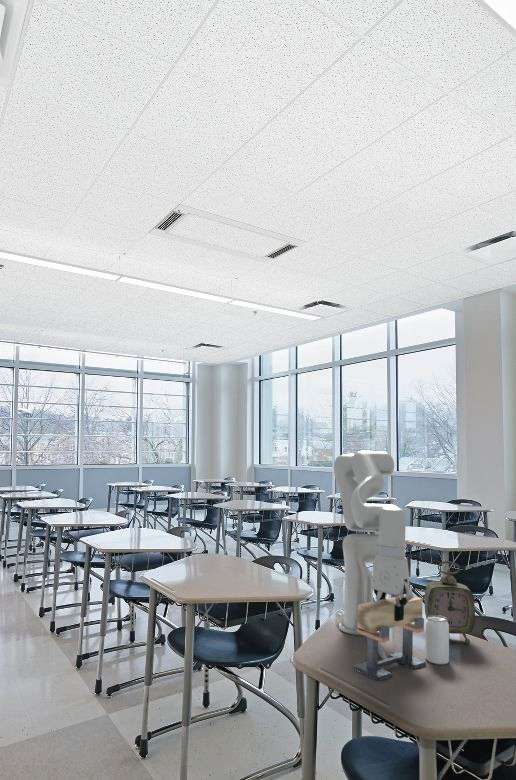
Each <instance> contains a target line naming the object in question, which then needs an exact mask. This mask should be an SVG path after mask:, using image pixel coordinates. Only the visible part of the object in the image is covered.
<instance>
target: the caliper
mask: <svg viewBox="0 0 516 780" xmlns="http://www.w3.org/2000/svg"><path fill="white" fill-rule="evenodd" d="M378 655H379V656H380V658H381V660H385V659H388V658H389V657H388V656H387V655H386V653H385V651H384V649H383V647H382V644H381V642H379V641H378Z"/></svg>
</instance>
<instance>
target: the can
mask: <svg viewBox="0 0 516 780" xmlns="http://www.w3.org/2000/svg"><path fill="white" fill-rule="evenodd" d="M449 635H450V633H449V624H448V622H447V618H445V617H443V616H438V615H429V616H427V618H426V621H425V659H426V661H427V662H429V663H430V664H434V665H439V666H441V665H442V666H443V665H447V664H448V663H449V662H450V637H449Z"/></svg>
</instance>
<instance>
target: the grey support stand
mask: <svg viewBox="0 0 516 780" xmlns="http://www.w3.org/2000/svg"><path fill="white" fill-rule="evenodd" d="M398 627H399V628H402V642H401V643H402V644H401V645H402V647H401V649H402V651H399V652H398V651H397V652H395V653H390V654H389V655H388V657H387V658H388V659H385V660H382V659H381V660H379V652H378V641H379V643H385V642H390V629H391V628H390V627H388V626H384V627H380V628H379V631H377V632H372V633H370V632H368V631H365V630H363V629H360V628H358V627H357V633H359V634H362V635H361V636H363V637H364V636H365V637H366V638H367V641H366V642H367V643H366V644H367V645H366V646H367V647H366V651H367V652H366V661H364V662H360V663H357V664H354V665H353V670H354V669H356V670H355V671H357V670H358V671H357V672H359V671H360V672H359V673H361V672H362V673H361V674H363V673H364V674H363V675H365V674H366V675H365V676H367V675H368V676H367V677H369V676H371V677H372V678H371V677H370V678H371V679H373V678H375V679H374V680H375V681H378V682H380V680H381V681H384V680H387V679H389V677H390V678H392V672H390V671H387V670H385V669H384V667H387V666H390V665H394V664H397V663H399V662H400V664H401V663H402V664H401V665H404V666H406V665H407V666H406V667H408V666H409V667H408V668H411V669H413V670H417V669H419V668H422V667H426V665H427V662H426V661H425V660H423V659H420V658H418V657H415V656H414V655H413V647H414V646H413V640H414V639H413V634H414V633H416V634H419V633H424V632H425V618H424V617H422V618H417V619H415V620H414V622H412V623H408V624H404V625H400V626H398ZM386 678H387V679H386ZM383 679H384V680H383Z"/></svg>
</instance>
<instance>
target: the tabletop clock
mask: <svg viewBox="0 0 516 780" xmlns="http://www.w3.org/2000/svg"><path fill="white" fill-rule="evenodd" d="M444 564H450V565H451V564H452V565H455V566H456V567H457V571H454V572H452V571H451V570H450V569H447V571H443V570H441V569H440V566H441V565H444ZM460 568H461V567H460V565H459V564H458V563H456V562H455V561H451V560H450V561H449V560H444V561H441V562H440V563H438V565H437V569H438V571H439V572H440V573H441V574H443V576H442V577H441V579H440V581H437V580H436V581H430V582H428V583H427V585H426V587H425V590H424V600H423V601H424V602H423V603H424V615H425V618H426V619H427V616H429V615H438V616H443V617H445V618H447V622H448V624H449V638H450V637H451V636H450V634H458V635H460V634H462V635H463V637H464V643H465V644H466V645H469V644H470V643H471V640H470V638H468V637H467V635H466V634H469V633H471V632H472V631H473V629H474V626H475V621H476V620H475V618H476V607H475V598H474V595H473V593H472V591H471V590H470V588H469V587H468V586H467V585H465V584H463V583H460V582H457V579H456V578H455V576H453V575H457V574H458V573H460V570H461V569H460Z"/></svg>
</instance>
